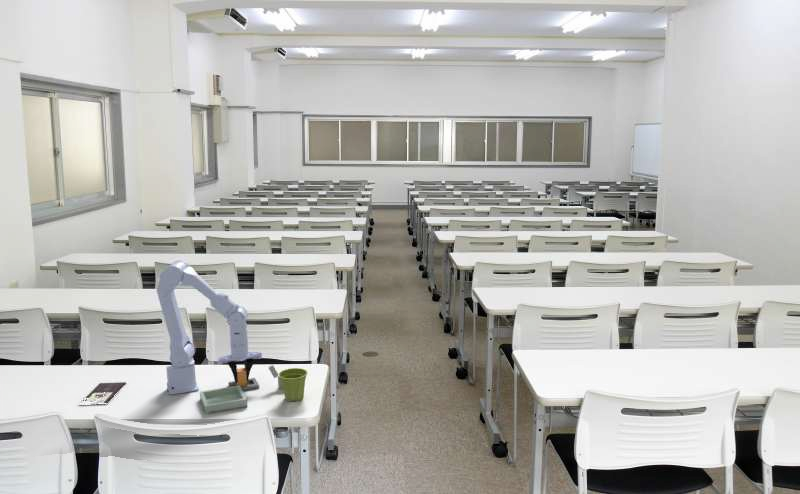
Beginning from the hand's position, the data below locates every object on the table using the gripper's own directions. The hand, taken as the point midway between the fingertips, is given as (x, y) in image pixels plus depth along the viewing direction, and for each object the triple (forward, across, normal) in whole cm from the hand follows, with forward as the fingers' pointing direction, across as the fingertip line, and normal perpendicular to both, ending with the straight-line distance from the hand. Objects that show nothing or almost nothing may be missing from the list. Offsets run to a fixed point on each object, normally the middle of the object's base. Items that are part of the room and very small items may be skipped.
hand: (241, 380), depth 237 cm
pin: (+2, 0, 0) cm, 2 cm away
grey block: (+2, +12, -6) cm, 14 cm away
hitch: (+2, 0, 0) cm, 2 cm away
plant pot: (+2, +14, -17) cm, 22 cm away
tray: (+2, -8, -11) cm, 14 cm away
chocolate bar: (+3, -44, +14) cm, 46 cm away
